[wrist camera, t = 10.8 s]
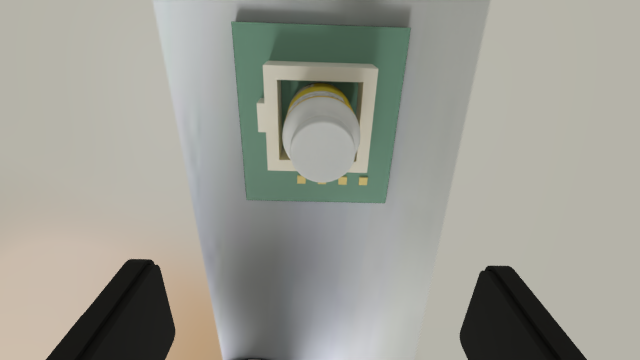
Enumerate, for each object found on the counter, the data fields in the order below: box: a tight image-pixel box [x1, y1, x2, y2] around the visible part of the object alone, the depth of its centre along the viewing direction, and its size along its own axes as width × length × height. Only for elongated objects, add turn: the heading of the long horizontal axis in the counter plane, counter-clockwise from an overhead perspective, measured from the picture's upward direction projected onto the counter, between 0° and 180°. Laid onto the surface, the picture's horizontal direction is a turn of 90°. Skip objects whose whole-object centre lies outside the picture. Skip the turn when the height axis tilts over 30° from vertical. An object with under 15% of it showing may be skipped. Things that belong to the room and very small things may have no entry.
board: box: [231, 22, 411, 203], centre depth 27 cm, size 16×14×4 cm
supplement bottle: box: [282, 82, 360, 183], centre depth 23 cm, size 5×5×10 cm
